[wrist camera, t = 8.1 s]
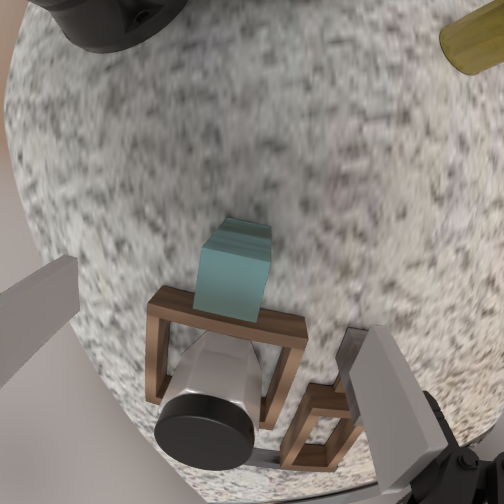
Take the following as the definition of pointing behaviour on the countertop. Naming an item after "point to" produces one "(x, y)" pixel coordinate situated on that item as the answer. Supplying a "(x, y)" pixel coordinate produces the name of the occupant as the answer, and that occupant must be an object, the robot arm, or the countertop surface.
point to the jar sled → (228, 311)
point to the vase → (476, 39)
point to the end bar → (269, 459)
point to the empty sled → (328, 405)
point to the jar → (212, 404)
